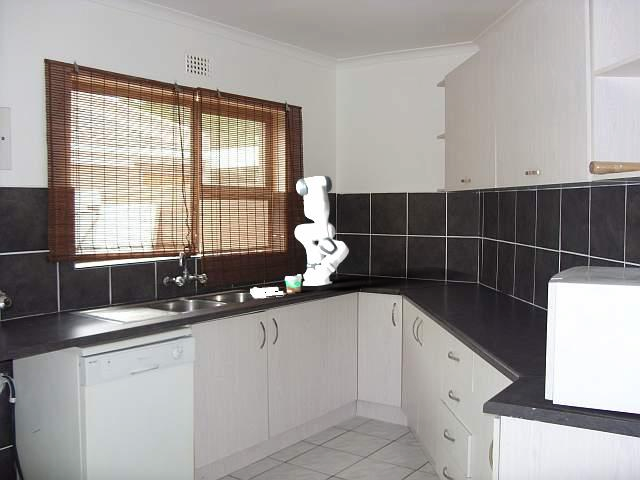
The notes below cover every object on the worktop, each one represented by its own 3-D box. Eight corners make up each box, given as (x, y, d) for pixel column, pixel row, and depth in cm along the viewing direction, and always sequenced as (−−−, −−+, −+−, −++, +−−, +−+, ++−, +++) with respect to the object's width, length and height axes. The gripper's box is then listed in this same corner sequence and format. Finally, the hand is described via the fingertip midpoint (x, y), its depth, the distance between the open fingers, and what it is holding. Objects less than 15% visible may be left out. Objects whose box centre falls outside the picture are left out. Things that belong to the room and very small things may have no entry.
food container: (293, 294, 371) (292, 276, 371) (285, 293, 375) (284, 276, 375) (307, 291, 381) (306, 274, 381) (298, 290, 385) (298, 274, 385)
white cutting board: (250, 293, 384) (250, 287, 384) (277, 291, 388) (277, 285, 387) (254, 298, 362) (254, 292, 362) (283, 296, 365) (282, 290, 365)
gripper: (321, 260, 391) (306, 277, 390) (328, 263, 371) (312, 281, 370) (328, 267, 392) (313, 284, 391) (336, 270, 372) (320, 288, 371)
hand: (313, 283), depth 380 cm, fingers closed
